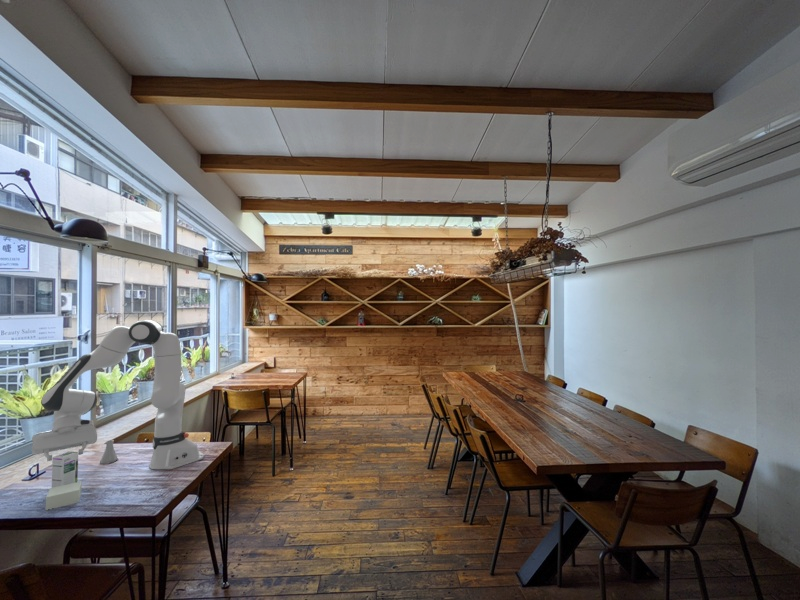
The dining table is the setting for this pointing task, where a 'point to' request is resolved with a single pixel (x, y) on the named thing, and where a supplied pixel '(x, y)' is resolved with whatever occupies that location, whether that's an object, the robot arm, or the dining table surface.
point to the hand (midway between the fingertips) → (65, 457)
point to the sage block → (63, 495)
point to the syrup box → (64, 469)
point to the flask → (109, 453)
